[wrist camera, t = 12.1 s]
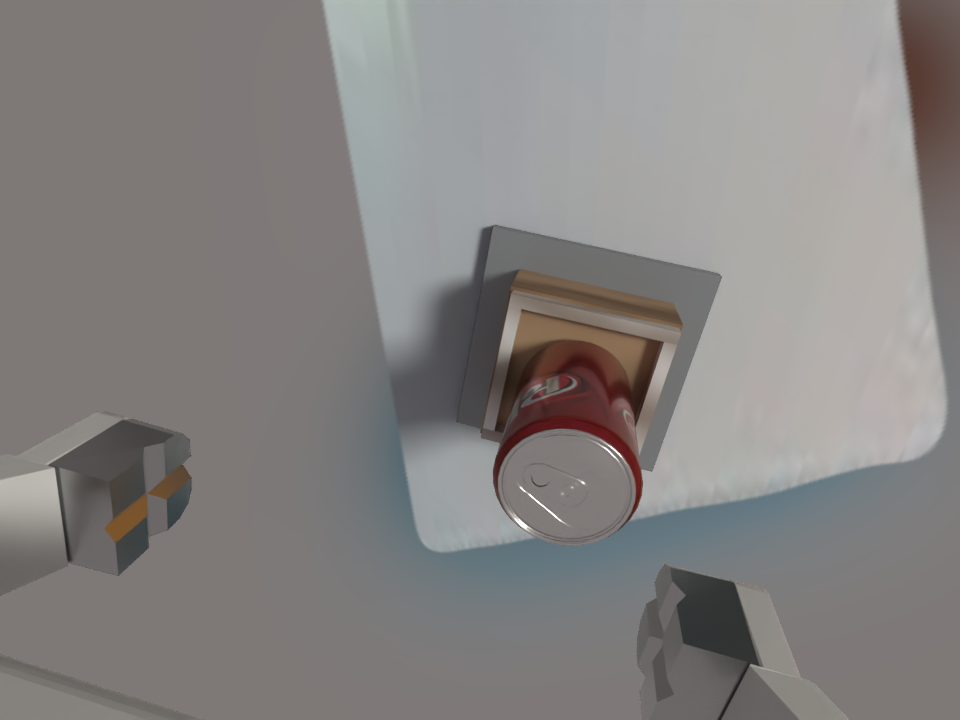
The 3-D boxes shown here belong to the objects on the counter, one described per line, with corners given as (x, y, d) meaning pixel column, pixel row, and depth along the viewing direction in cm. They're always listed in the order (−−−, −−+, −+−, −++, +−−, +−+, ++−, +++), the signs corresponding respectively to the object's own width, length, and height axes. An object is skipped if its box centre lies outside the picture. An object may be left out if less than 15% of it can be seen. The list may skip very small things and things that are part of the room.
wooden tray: (520, 268, 41) (508, 290, 36) (673, 303, 40) (685, 330, 35) (491, 402, 46) (477, 439, 40) (629, 436, 45) (634, 480, 39)
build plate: (495, 224, 42) (492, 226, 41) (719, 273, 40) (721, 276, 39) (459, 416, 48) (456, 421, 47) (650, 464, 46) (652, 471, 45)
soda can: (652, 371, 37) (675, 472, 26) (593, 453, 40) (592, 575, 29) (553, 316, 37) (535, 395, 26) (501, 403, 40) (465, 507, 29)
